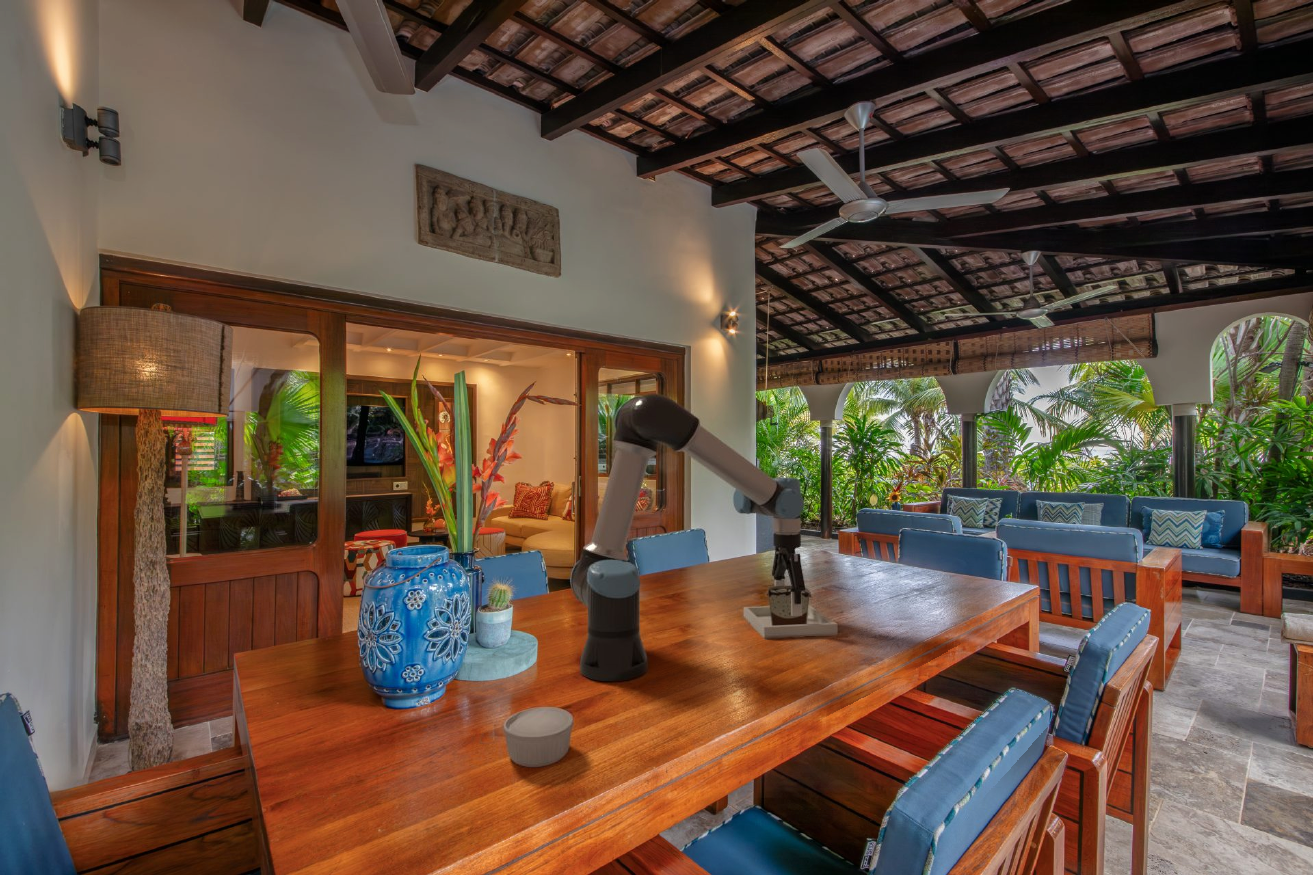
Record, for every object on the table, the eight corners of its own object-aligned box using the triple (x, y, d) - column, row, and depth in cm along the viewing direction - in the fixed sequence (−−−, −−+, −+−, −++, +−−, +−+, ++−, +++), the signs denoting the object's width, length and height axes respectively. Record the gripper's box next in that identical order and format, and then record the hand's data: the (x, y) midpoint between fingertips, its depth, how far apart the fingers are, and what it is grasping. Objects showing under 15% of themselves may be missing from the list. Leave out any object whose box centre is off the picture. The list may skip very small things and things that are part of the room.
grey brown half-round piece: (808, 620, 167) (807, 585, 167) (812, 627, 160) (811, 590, 161) (764, 619, 168) (763, 584, 168) (766, 626, 161) (766, 589, 162)
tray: (837, 635, 155) (837, 623, 155) (764, 638, 153) (764, 627, 153) (808, 614, 175) (808, 604, 175) (743, 617, 172) (743, 607, 173)
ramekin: (510, 737, 101) (510, 706, 101) (575, 735, 101) (575, 704, 101) (497, 773, 89) (497, 738, 90) (570, 770, 90) (570, 735, 90)
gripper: (817, 538, 153) (818, 620, 152) (784, 526, 177) (785, 597, 177) (789, 539, 152) (790, 622, 151) (760, 527, 176) (761, 598, 176)
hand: (787, 608), depth 164 cm, fingers open, 13 cm apart
